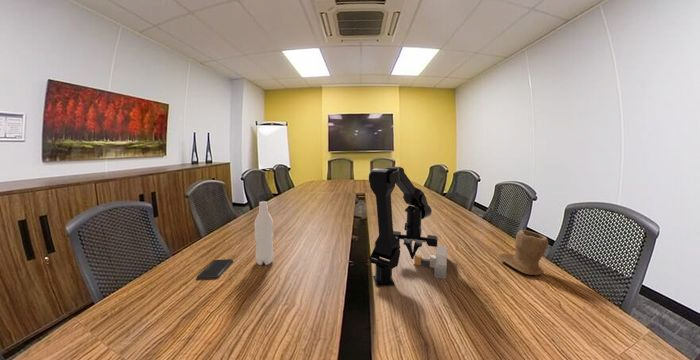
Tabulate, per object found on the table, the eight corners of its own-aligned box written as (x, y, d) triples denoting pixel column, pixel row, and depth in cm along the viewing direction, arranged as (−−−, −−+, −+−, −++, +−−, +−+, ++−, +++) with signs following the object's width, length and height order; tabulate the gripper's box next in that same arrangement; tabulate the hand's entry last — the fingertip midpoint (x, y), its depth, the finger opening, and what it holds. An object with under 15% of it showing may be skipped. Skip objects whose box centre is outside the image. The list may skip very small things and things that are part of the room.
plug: (414, 264, 104) (414, 256, 104) (415, 261, 108) (415, 252, 107) (440, 268, 100) (440, 260, 100) (440, 264, 104) (441, 256, 104)
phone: (233, 259, 106) (218, 276, 91) (234, 262, 106) (218, 279, 92) (214, 259, 106) (195, 277, 91) (214, 262, 106) (195, 280, 91)
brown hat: (553, 277, 95) (557, 237, 93) (523, 278, 94) (526, 237, 92) (523, 260, 110) (525, 225, 108) (496, 260, 109) (498, 225, 107)
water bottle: (268, 267, 101) (266, 204, 98) (251, 265, 102) (249, 203, 99) (277, 260, 108) (275, 200, 105) (261, 258, 109) (259, 200, 106)
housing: (434, 277, 94) (434, 263, 93) (436, 256, 112) (437, 245, 112) (446, 279, 92) (446, 265, 92) (446, 258, 111) (446, 246, 110)
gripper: (438, 219, 109) (437, 254, 110) (394, 214, 115) (393, 248, 117) (438, 226, 98) (436, 265, 100) (389, 221, 105) (388, 258, 106)
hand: (412, 258), depth 106 cm, fingers closed
